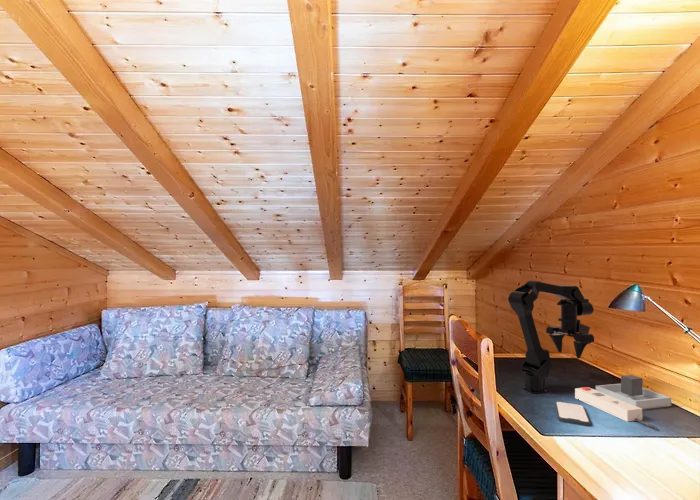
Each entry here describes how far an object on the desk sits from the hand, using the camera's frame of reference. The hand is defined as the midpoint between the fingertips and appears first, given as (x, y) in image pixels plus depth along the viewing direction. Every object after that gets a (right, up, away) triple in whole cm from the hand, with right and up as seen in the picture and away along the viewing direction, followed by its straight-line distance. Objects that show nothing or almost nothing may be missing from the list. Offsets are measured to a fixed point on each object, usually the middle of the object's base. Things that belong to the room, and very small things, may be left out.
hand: (569, 355), depth 151 cm
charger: (+14, -12, -15) cm, 24 cm away
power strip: (0, -12, -26) cm, 29 cm away
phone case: (-16, -12, -28) cm, 35 cm away
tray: (+14, -12, -15) cm, 24 cm away
